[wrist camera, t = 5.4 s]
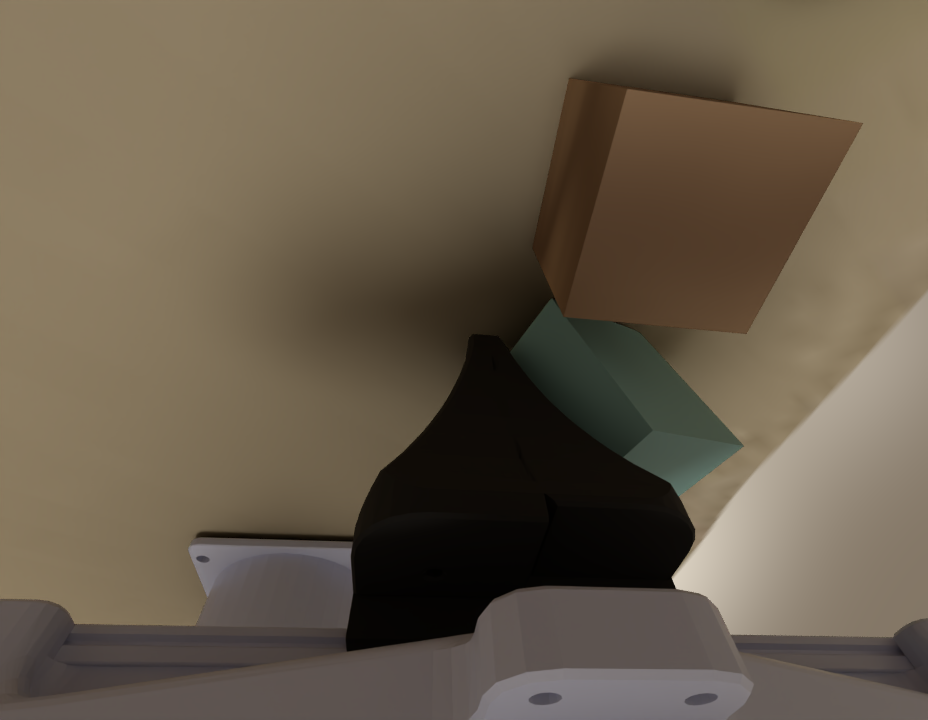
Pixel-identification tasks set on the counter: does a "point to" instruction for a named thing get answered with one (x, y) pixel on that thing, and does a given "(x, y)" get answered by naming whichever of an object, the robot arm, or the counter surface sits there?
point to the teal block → (624, 395)
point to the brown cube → (678, 204)
